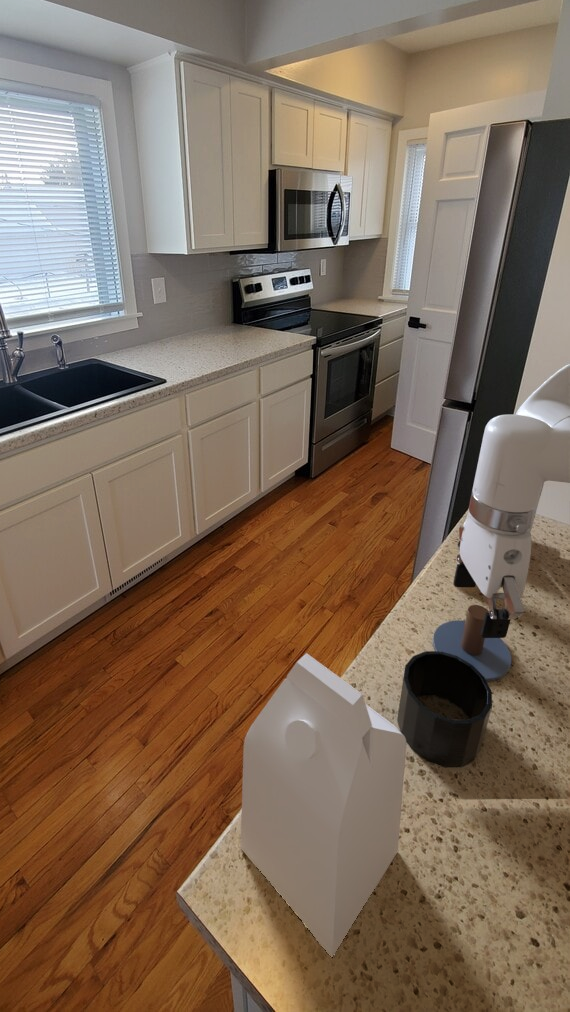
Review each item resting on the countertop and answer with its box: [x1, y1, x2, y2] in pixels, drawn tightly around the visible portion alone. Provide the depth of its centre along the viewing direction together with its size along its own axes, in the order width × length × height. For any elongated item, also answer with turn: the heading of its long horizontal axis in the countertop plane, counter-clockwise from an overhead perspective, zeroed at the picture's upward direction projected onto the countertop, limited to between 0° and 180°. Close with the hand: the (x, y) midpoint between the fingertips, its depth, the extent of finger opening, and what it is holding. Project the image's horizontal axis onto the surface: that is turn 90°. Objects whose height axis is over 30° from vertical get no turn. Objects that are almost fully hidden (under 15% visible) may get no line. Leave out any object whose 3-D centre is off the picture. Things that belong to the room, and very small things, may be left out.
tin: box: [396, 650, 493, 769], centre depth 61 cm, size 10×10×8 cm
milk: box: [239, 652, 407, 958], centre depth 46 cm, size 12×12×26 cm
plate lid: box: [432, 604, 512, 682], centre depth 72 cm, size 11×11×8 cm
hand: (477, 609), depth 70 cm, fingers open, 9 cm apart
